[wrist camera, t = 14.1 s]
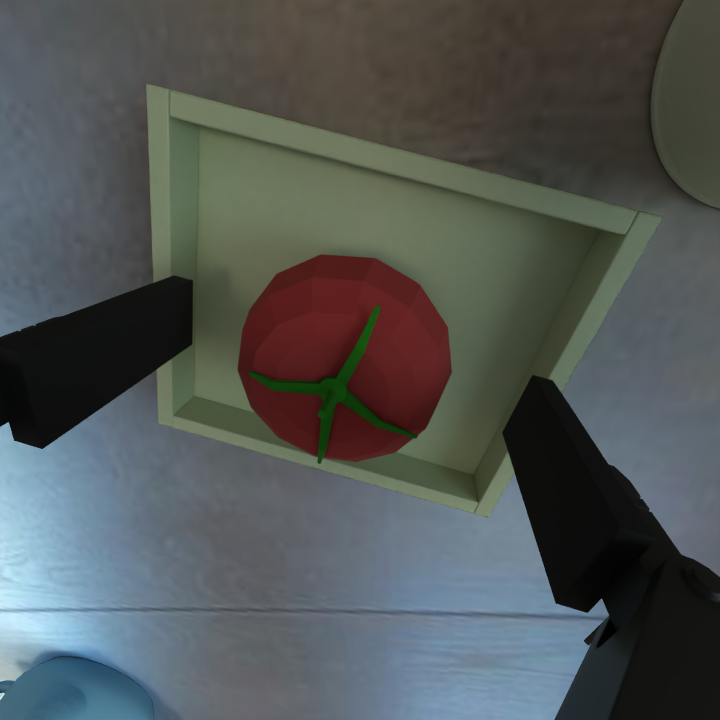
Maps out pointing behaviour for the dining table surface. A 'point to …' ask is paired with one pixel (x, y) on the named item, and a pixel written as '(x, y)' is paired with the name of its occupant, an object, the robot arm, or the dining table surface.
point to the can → (690, 100)
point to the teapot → (73, 693)
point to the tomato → (344, 357)
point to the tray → (391, 246)
